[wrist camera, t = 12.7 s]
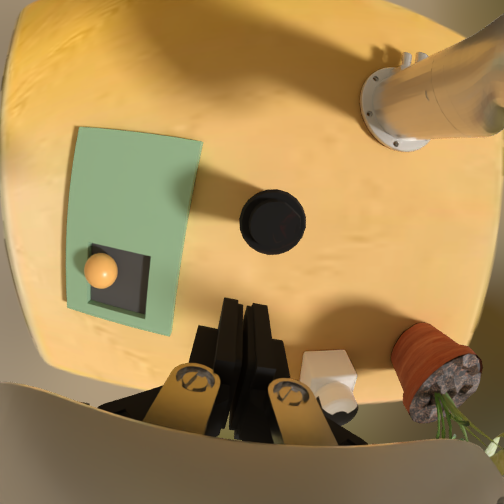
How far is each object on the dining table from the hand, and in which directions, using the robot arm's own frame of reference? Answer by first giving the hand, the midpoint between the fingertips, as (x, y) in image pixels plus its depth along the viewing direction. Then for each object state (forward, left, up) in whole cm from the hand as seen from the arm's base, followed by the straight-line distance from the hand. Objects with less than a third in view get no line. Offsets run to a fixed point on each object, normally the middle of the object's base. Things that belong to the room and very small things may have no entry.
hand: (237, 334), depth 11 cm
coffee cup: (-1, +3, -29) cm, 29 cm away
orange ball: (+11, -18, -26) cm, 34 cm away
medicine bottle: (+22, +18, -29) cm, 41 cm away
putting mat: (+6, -16, -29) cm, 34 cm away
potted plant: (+17, +35, -29) cm, 49 cm away
